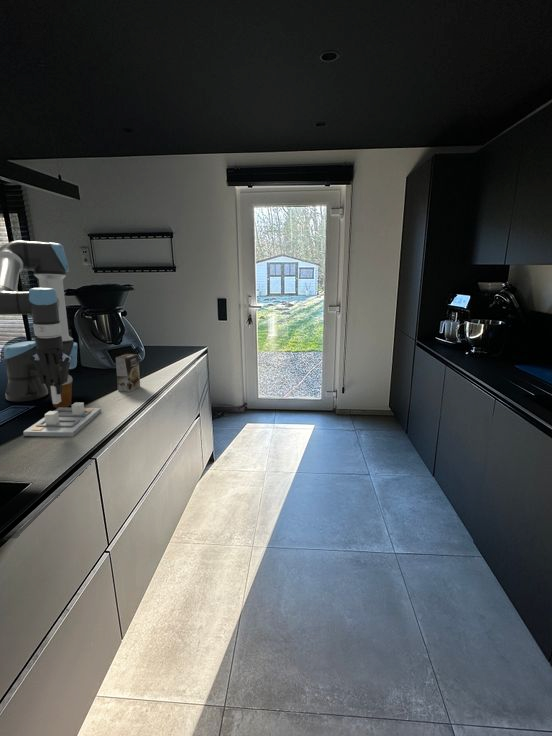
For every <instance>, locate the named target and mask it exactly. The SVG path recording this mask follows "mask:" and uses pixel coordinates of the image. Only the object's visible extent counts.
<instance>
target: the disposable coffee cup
mask: <svg viewBox="0 0 552 736" xmlns="http://www.w3.org/2000/svg"><path fill="white" fill-rule="evenodd" d="M54 384H55V383H54ZM72 385H73V377H72V375H70V374H68V380H67V382H66V383H64V384H62V391H63V392H62V393H61V402H60V403H58V404H53V402H52V401H51V402H52V405H53V408H56V409H57V408H59V407H68V408H69V406H72V390H73V388H72V387H73V386H72ZM49 395H50V399H51V400H52V394H49Z"/></svg>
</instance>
